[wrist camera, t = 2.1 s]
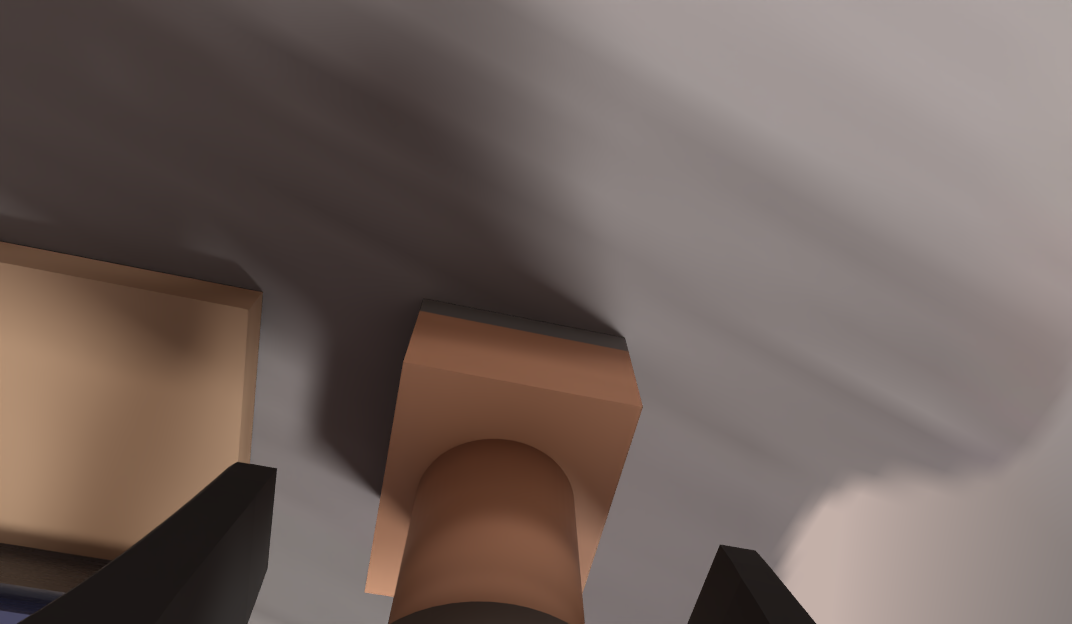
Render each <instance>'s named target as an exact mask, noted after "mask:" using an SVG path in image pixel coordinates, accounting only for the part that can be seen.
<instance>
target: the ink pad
mask: <svg viewBox="0 0 1072 624" xmlns="http://www.w3.org/2000/svg"><path fill="white" fill-rule="evenodd" d="M111 561H112V560H107V559H100V558H94V557H88V556H81V555H75V554H69V553H62V552H56V551H50V550H43V549H37V548H30V547H24V546H18V545H11V544H5V543H0V624H17V623H18V622H20V621H22V620H23V619H25V618H27V617H28V616H30V615H32V614H33V613H35V612H37V611H38V610H40V609H41V608H43V607H44V606H46V605H48V604H49V603H51V602H52V601H54V600H55V599H57V598H58V597H60V596H61V595H63V594H65V593H66V592H68V591H69V590H71V589H72V588H74V587H75V586H77V585H78V584H79V583H81V582H82V581H84V580H85V579H87V578H88V577H89V576H91V575H92V574H94V573H95V572H96V571H98V570H99V569H101V568H102V567H104V566H105V565H106V564H108V563H109V562H111Z"/></svg>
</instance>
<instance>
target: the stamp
mask: <svg viewBox="0 0 1072 624" xmlns="http://www.w3.org/2000/svg"><path fill="white" fill-rule="evenodd" d="M642 408H643V406H642V402H641V398H640V394H639V391H638V387H637V383H636V379H635V375H634V371H633V367H632V363H631V360H630V356H629V352H628V348H627V344H626V340H625V338H622V337H617V336H612V335H607V334H602V333H597V332H592V331H587V330H582V329H577V328H571V327H566V326H561V325H556V324H551V323H546V322H541V321H536V320H531V319H526V318H521V317H516V316H510V315H505V314H500V313H495V312H490V311H485V310H480V309H475V308H470V307H465V306H460V305H455V304H450V303H444V302H439V301H434V300H429V299H423V302H422V305H421V308H420V311H419V315H418V318H417V321H416V324H415V327H414V330H413V333H412V336H411V339H410V342H409V346H408V349H407V352H406V355H405V358H404V361H403V366H402V372H401V378H400V384H399V390H398V396H397V402H396V408H395V414H394V420H393V426H392V432H391V438H390V444H389V450H388V456H387V462H386V468H385V474H384V480H383V486H382V492H381V498H380V503H379V509H378V515H377V521H376V527H375V533H374V539H373V545H372V551H371V557H370V563H369V569H368V575H367V581H366V587H365V592H366V593H373V594H379V595H385V596H392V597H394V599H393V603H392V608H391V612H390V617H389V622H388V624H585V622H584V610H583V598H582V593H583V590H584V587H585V583H586V580H587V577H588V574H589V571H590V568H591V565H592V562H593V559H594V556H595V553H596V550H597V546H598V543H599V540H600V537H601V534H602V531H603V528H604V525H605V522H606V519H607V516H608V513H609V509H610V506H611V503H612V500H613V497H614V494H615V491H616V488H617V485H618V482H619V479H620V476H621V472H622V469H623V466H624V463H625V460H626V457H627V454H628V451H629V448H630V445H631V442H632V439H633V436H634V432H635V429H636V426H637V423H638V420H639V417H640V414H641V411H642Z"/></svg>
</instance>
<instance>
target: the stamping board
mask: <svg viewBox="0 0 1072 624" xmlns="http://www.w3.org/2000/svg"><path fill="white" fill-rule="evenodd" d="M262 298H263V292H259V291H254V290H248V289H243V288H238V287H233V286H228V285H223V284H217V283H212V282H207V281H202V280H197V279H192V278H186V277H181V276H176V275H171V274H166V273H160V272H155V271H150V270H145V269H140V268H135V267H129V266H124V265H119V264H114V263H109V262H104V261H98V260H93V259H88V258H83V257H78V256H73V255H67V254H62V253H57V252H52V251H47V250H42V249H36V248H31V247H26V246H21V245H16V244H11V243H5V242H0V543H5V544H11V545H18V546H24V547H30V548H37V549H43V550H50V551H56V552H62V553H69V554H75V555H81V556H88V557H94V558H100V559H107V560H114V559H115V558H116V557H118V556H119V555H121V554H122V553H123V552H125V551H126V550H127V549H129V548H130V547H131V546H133V545H134V544H135V543H137V542H138V541H139V540H141V539H142V538H143V537H144V536H146V535H147V534H148V533H150V532H151V531H152V530H153V529H155V528H156V527H157V526H158V525H160V524H161V523H162V522H164V521H165V520H166V519H167V518H169V517H170V516H171V515H173V514H174V513H175V512H176V511H177V510H179V509H180V508H181V507H182V506H183V505H185V504H186V503H187V502H188V501H190V500H191V499H192V498H193V497H194V496H196V495H197V494H198V493H199V492H200V491H201V490H203V489H204V488H205V487H206V486H207V485H208V484H210V483H211V482H212V481H213V480H214V479H215V478H217V477H218V476H219V475H220V474H221V473H222V472H223V471H225V470H226V469H227V468H228V467H229V466H231V465H232V464H234V463H236V462H242V463H248V464H250V453H251V440H252V427H253V414H254V401H255V388H256V375H257V362H258V349H259V336H260V324H261V311H262Z"/></svg>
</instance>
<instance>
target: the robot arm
mask: <svg viewBox="0 0 1072 624" xmlns="http://www.w3.org/2000/svg"><path fill="white" fill-rule="evenodd" d="M276 472H277V468H271V467H266V466H260V465H254V464H248V463H242V462H236V463H234V464H232V465H231V466H229V467H228V468H227V469H226V470H225V471H223V472H222V473H221V474H220V475H219V476H218V477H217V478H215V479H214V480H213V481H212V482H211V483H210V484H208V485H207V486H206V487H205V488H204V489H203V490H201V491H200V492H199V493H198V494H197V495H196V496H194V497H193V498H192V499H191V500H190V501H188V502H187V503H186V504H185V505H183V506H182V507H181V508H180V509H179V510H177V511H176V512H175V513H174V514H173V515H171V516H170V517H169V518H167V519H166V520H165V521H164V522H162V523H161V524H160V525H158V526H157V527H156V528H155V529H153V530H152V531H151V532H150V533H148V534H147V535H146V536H144V537H143V538H142V539H141V540H139V541H138V542H137V543H135V544H134V545H133V546H131V547H130V548H129V549H127V550H126V551H125V552H123V553H122V554H121V555H119V556H118V557H116V558H115V559H114V560H112V561H111V562H109V563H108V564H106V565H105V566H104V567H102V568H101V569H99V570H98V571H96V572H95V573H94V574H92V575H91V576H89V577H88V578H87V579H85V580H84V581H82V582H81V583H79V584H78V585H77V586H75V587H74V588H72V589H71V590H69V591H68V592H66V593H65V594H63V595H61V596H60V597H58V598H57V599H55V600H54V601H52V602H51V603H49V604H48V605H46V606H44V607H43V608H41V609H40V610H38V611H37V612H35V613H33V614H32V615H30V616H28V617H27V618H25V619H23V620H22V621H20V622H18V623H17V624H247V623H248V621H249V618H250V615H251V613H252V610H253V607H254V605H255V602H256V599H257V596H258V593H259V591H260V588H261V585H262V582H263V579H264V576H265V574H266V571H267V568H268V557H269V546H270V536H271V525H272V515H273V504H274V494H275V483H276ZM688 624H816V623H815V622H814V620H813V619H812V618H811V617H810V616H809V615H808V613H807V612H806V611H805V609H804V608H803V607H802V606H801V605H800V603H799V602H798V601H797V600H796V598H795V597H794V596H793V595H792V594H791V592H790V591H789V590H788V589H787V587H786V586H785V585H784V584H783V582H782V581H781V580H780V579H779V578H778V576H777V575H776V574H775V573H774V572H773V570H772V569H771V568H770V567H769V566H768V564H767V563H766V562H765V561H764V560H763V559H762V557H761V556H760V555H759V554H758V553H757V552H756V551H754V550H749V549H743V548H737V547H731V546H725V545H720V546H719V548H718V551H717V553H716V556H715V558H714V561H713V563H712V565H711V568H710V570H709V573H708V575H707V578H706V580H705V582H704V585H703V587H702V590H701V592H700V595H699V597H698V599H697V602H696V604H695V607H694V609H693V612H692V614H691V616H690V619H689V621H688Z"/></svg>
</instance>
